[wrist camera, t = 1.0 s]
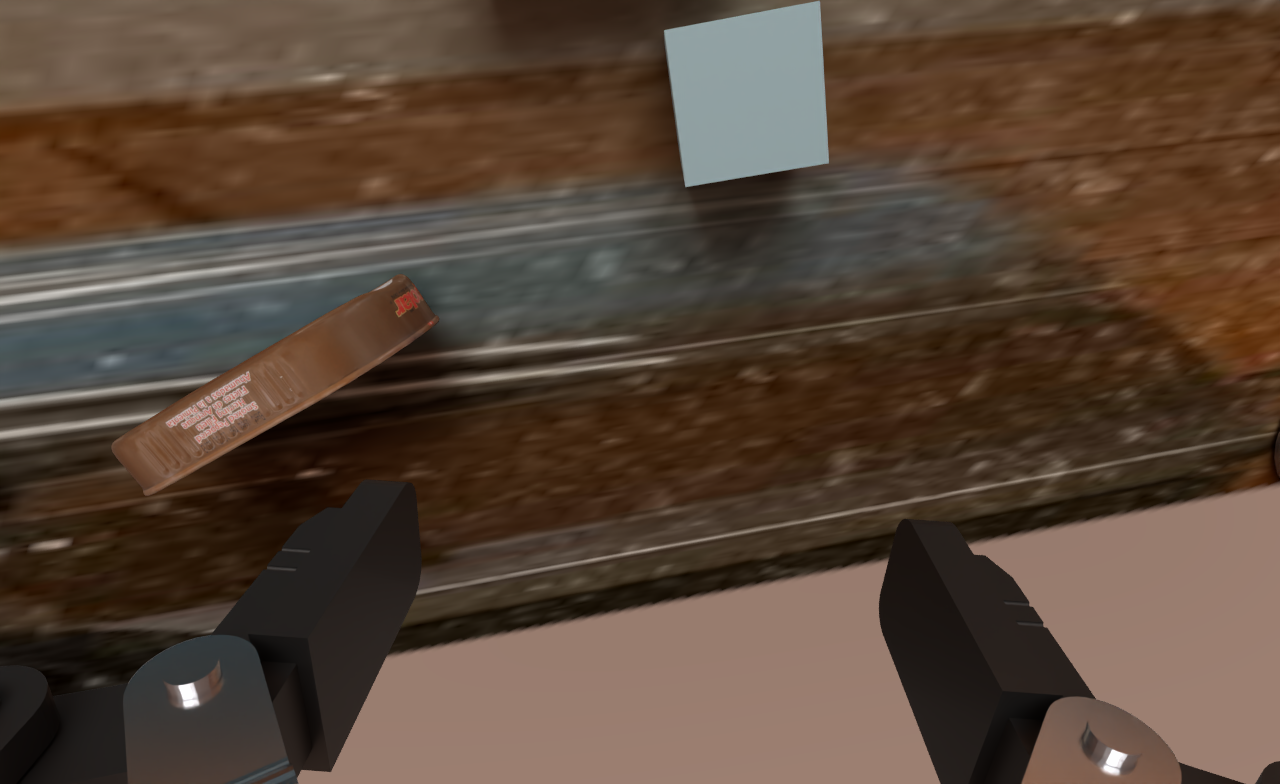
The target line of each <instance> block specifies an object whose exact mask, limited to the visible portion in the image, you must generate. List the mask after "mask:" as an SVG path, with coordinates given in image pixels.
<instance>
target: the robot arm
mask: <svg viewBox="0 0 1280 784" xmlns="http://www.w3.org/2000/svg"><path fill="white" fill-rule="evenodd" d="M1274 460H1275V465H1276V470H1277V474H1278V476H1279V478H1280V431H1279V434H1278V437H1277V440H1276V446H1275V456H1274ZM420 574H421V549H420V537H419V524H418V512H417V500H416V492H415V488H414V486H413V484H412V483H407V482H393V481H379V480H364V481H362V482H361V484H360V485H359V486H358V487H357V489H356V490H355V491H354V493H353V494H352V495H351V497H350V498H349V499H348V501H347V502H346V503H345V505H344V506H343V507H342V508H326V509H325V510H323V511H322V512H320V513H318V514H317V515H315V516H314V517H312V518H311V519H309V520H307V521H306V522H304V523H303V524H301V525H300V526H299V527H298V528H297V530H296V531H295V532H294V533H293V534H292V536H291V537H290V538H289V539H288V541H287V542H286V543H285V544H284V546H283V547H282V551H281V552H280V551H279V552H278V553H277V554H276V555H275V557H274V558H273V559H272V560H271V562H270V563H269V564H268V567H267V570H263V571H262V573H261V574H260V575H259V576H258V578H257V579H256V580H255V581H254V582H253V584H252V585H251V586H250V587H249V589H248V590H247V591H246V592H245V594H244V595H243V596H242V597H241V598H240V600H239V601H238V602H237V603H236V605H235V606H234V607H233V608H232V610H231V611H230V612H229V613H228V614H227V616H226V617H225V618H224V619H223V621H222V622H221V623H220V624H219V626H218V627H217V628H216V629H215V630H214V632H213V633H212V634H211V635H210V636H204V637H198V638H195V639H191V640H188V641H185V642H182V643H180V644H177V645H175V646H173V647H171V648H169V649H167V650H165V651H163V652H161V653H160V654H158V655H156V656H155V657H153V658H152V659H151V660H149V661H148V662H147V663H146V664H144V665H143V666H142V667H141V668H140V669H139V670H138V671H137V672H136V673H135V675H134V676H133V677H132V678H131V680H130V682H129V683H127V684H122V685H117V686H111V687H105V688H99V689H93V690H88V691H82V692H76V693H70V694H64V695H58V696H52V694H51V691H50V689H49V686H48V683H47V681H46V678H45V677H44V675H43V674H42V673H41V672H39V671H37V670H36V669H33V668H30V667H25V666H2V667H0V784H298V781H297V777H298V775H299V773H300V771H301V770H312V771H327V772H331V770H332V768H333V766H334V764H335V762H336V760H337V758H338V756H339V754H340V752H341V750H342V748H343V746H344V743H345V741H346V739H347V737H348V735H349V733H350V731H351V729H352V727H353V725H354V723H355V721H356V719H357V716H358V714H359V712H360V710H361V708H362V706H363V704H364V702H365V700H366V698H367V696H368V694H369V691H370V689H371V687H372V685H373V683H374V681H375V679H376V677H377V675H378V673H379V671H380V669H381V667H382V664H383V662H384V660H385V658H386V656H387V654H388V652H389V650H390V648H391V646H392V644H393V642H394V640H395V637H396V635H397V633H398V631H399V629H400V627H401V625H402V623H403V621H404V619H405V617H406V615H407V613H408V610H409V608H410V606H411V604H412V602H413V600H414V598H415V595H416V592H417V589H418V585H419V581H420ZM879 618H880V625H881V629H882V633H883V636H884V638H885V641H886V643H887V646H888V649H889V651H890V654H891V656H892V659H893V661H894V664H895V667H896V669H897V672H898V674H899V677H900V679H901V682H902V685H903V687H904V690H905V692H906V695H907V698H908V700H909V703H910V706H911V708H912V710H913V713H914V716H915V719H916V721H917V724H918V726H919V729H920V731H921V734H922V737H923V739H924V742H925V745H926V747H927V750H928V752H929V755H930V757H931V760H932V763H933V765H934V767H935V770H936V773H937V775H938V778H939V781H940V783H941V784H1244V783H1241V782H1238V781H1235V780H1232V779H1229V778H1225V777H1222V776H1219V775H1216V774H1213V773H1210V772H1207V771H1203V770H1200V769H1197V768H1194V767H1191V766H1188V765H1185V764H1182V763H1180V762H1178V761H1177V759H1176V757H1175V755H1174V753H1173V752H1172V750H1171V749H1170V748H1169V746H1168V745H1167V744H1166V743H1165V742H1164V741H1163V739H1162V738H1161V737H1160V736H1159V735H1158V734H1157V733H1156V732H1155V731H1153V730H1152V729H1151V728H1150V727H1148V726H1147V725H1146V724H1145V723H1143V722H1142V721H1141V720H1139V719H1138V718H1136V717H1134V716H1133V715H1131V714H1130V713H1128V712H1126V711H1124V710H1122V709H1120V708H1118V707H1116V706H1114V705H1111V704H1109V703H1106V702H1103V701H1100V700H1096V698H1095V697H1094V696H1093V694H1092V693H1091V691H1090V690H1089V688H1088V687H1087V686H1086V684H1085V682H1084V681H1083V680H1082V678H1081V677H1080V675H1079V674H1078V672H1077V671H1076V669H1075V668H1074V666H1073V665H1072V663H1071V662H1070V661H1069V659H1068V658H1067V656H1066V655H1065V653H1064V652H1063V650H1062V649H1061V647H1060V646H1059V644H1058V643H1057V642H1056V640H1055V639H1054V637H1053V636H1052V634H1051V633H1050V631H1049V630H1048V628H1044V627H1043V621H1042V620H1041V618H1040V617H1039V615H1038V614H1037V612H1036V611H1035V610H1034V608H1033V607H1030V606H1029V601H1028V599H1027V598H1026V597H1025V595H1024V594H1023V592H1022V591H1021V589H1020V588H1019V586H1018V585H1017V584H1016V582H1015V581H1014V579H1013V578H1012V577H1011V576H1010V575H1009V574H1007V573H1006V572H1005V571H1004V570H1003V569H1001V568H1000V567H999V566H998V565H996V564H995V563H994V562H993V561H991V560H990V559H989V558H988V557H986V556H983V555H974V554H973V553H972V551H971V550H970V548H969V547H968V545H967V543H966V542H965V540H964V539H963V537H962V536H961V534H960V532H959V531H958V529H957V528H956V526H955V525H954V524H953V523H951V522H940V521H926V520H912V519H904V520H902V521H901V522H900V523H899V525H898V527H897V530H896V534H895V538H894V542H893V546H892V549H891V553H890V557H889V561H888V565H887V569H886V573H885V577H884V582H883V586H882V589H881V594H880V601H879ZM1255 784H1280V761H1279V762H1274V763H1272V764H1269V765H1268V766H1267V767H1266V768H1265V769H1264V770H1263V772H1262V773H1261V775H1260V777H1259V778H1258V780H1257V782H1256V783H1255Z"/></svg>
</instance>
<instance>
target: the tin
mask: <svg viewBox="0 0 1280 784" xmlns="http://www.w3.org/2000/svg"><path fill="white" fill-rule="evenodd" d="M438 321H439V317H438V316H437V315H434V313H433V312H432V311H431V309H430V308H429V306H428V305H427V303H426V302H425V300H424V299H423V297H422V296H421V294H420V293H419V291H418V290H417V288H416V287H415V285H414V284H413V283H412V281H411V280H410V279H409V278H408V277H406V276H405V275H402V274H399V275H396V276H395V277H393V278H392V279H390V280H388V281H387V282H385V283H384V284H382V285H380V286H379V287H377V288H376V289H374V290H372V291H371V292H368V293H366V294H363V295H360V296H358V297H356V298H354V299H352V300H351V301H349V302H347V303H345V304H343V305H341V306H339V307H338V308H336V309H334V310H332V311H330V312H329V313H327V314H325V315H323V316H321V317H320V318H318V319H316V320H315V321H313V322H311V323H310V324H308V325H306V326H304V327H303V328H301V329H299V330H298V331H296V332H294V333H292V334H291V335H289V336H287V337H286V338H284V339H282V340H280V341H279V342H277V343H275V344H273V345H272V346H270V347H268V348H266V349H265V350H263V351H261V352H260V353H258V354H256V355H254V356H253V357H251V358H249V359H248V360H246V361H244V362H243V363H241V364H239V365H237V366H236V367H234V368H232V369H231V370H229V371H227V372H225V373H224V374H222V375H220V376H219V377H217V378H215V379H213V380H212V381H210V382H208V383H207V384H205V385H203V386H202V387H200V388H198V389H197V390H195V391H193V392H192V393H190V394H189V395H187V396H185V397H184V398H182V399H180V400H179V401H177V402H176V403H174V404H172V405H171V406H169V407H167V408H166V409H164V410H163V411H161V412H160V413H158V414H156V415H155V416H153V417H152V418H150V419H148V420H147V421H145V422H144V423H142V424H140V425H139V426H137V427H135V428H134V429H132V430H131V431H129V432H127V433H126V434H124V435H123V436H121V437H120V438H118V439H117V440H115V441H114V442H113V444H112V451H113V453H114V455H115V456H116V457H117V459H118V460H119V461H120V462H121V463H122V465H123V466H124V467H125V468H126V469H127V470H128V472H129V473H130V474H131V475H132V476H133V477H134V478H135V480H136V481H137V482H138V483H139V484H140V486H141V487H142V488H143V492H144V494H145V495H146V496H149V495H151V494H154V493H156V492H158V491H159V490H162V489H163V488H166V487H167V486H169V485H171V484H173V483H175V482H176V481H178V480H180V479H182V478H183V477H185V476H187V475H189V474H191V473H192V472H194V471H196V470H198V469H199V468H201V467H203V466H204V465H206V464H208V463H210V462H212V461H214V460H216V459H217V458H219V457H221V456H222V455H224V454H226V453H228V452H230V451H231V450H233V449H235V448H236V447H238V446H240V445H242V444H244V443H245V442H247V441H249V440H251V439H252V438H254V437H256V436H258V435H259V434H261V433H263V432H265V431H266V430H268V429H270V428H272V427H274V426H276V425H277V424H279V423H281V422H282V421H284V420H286V419H288V418H290V417H292V416H293V415H295V414H297V413H299V412H300V411H302V410H304V409H306V408H308V407H309V406H311V405H313V404H315V403H316V402H318V401H320V400H322V399H323V398H325V397H327V396H328V395H330V394H332V393H333V392H335V391H337V390H338V389H340V388H341V387H343V386H345V385H346V384H348V383H350V382H352V381H353V380H355V379H356V378H358V377H359V376H361V375H362V374H364V373H366V372H367V371H369V370H370V369H372V368H374V367H375V366H377V365H379V364H381V363H382V362H383V361H385V360H386V359H388V358H389V357H391V356H393V355H394V354H395V353H397V352H398V351H400V350H401V349H403V348H404V347H406V346H407V345H409V344H410V343H412V342H413V341H414V340H416V339H417V338H418V337H420V336H421V335H423V334H424V333H425V332H427V331H428V330H429V329H431V328H432V327H433V326H434V325H436V324H437V322H438Z"/></svg>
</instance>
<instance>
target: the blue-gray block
mask: <svg viewBox="0 0 1280 784" xmlns="http://www.w3.org/2000/svg"><path fill="white" fill-rule="evenodd" d="M664 44H665V51H666V58H667V66H668V73H669V80H670V88H671V95H672V102H673V109H674V117H675V124H676V131H677V138H678V146H679V153H680V160H681V167H682V172H683V177H684V182H685V187H689V186H695V185H701V184H707V183H713V182H719V181H725V180H731V179H737V178H743V177H749V176H755V175H761V174H767V173H773V172H779V171H785V170H791V169H796V168H802V167H808V166H814V165H820V164H826V163H829V157H828V139H827V121H826V103H825V85H824V67H823V49H822V31H821V13H820V1H816V2H811V3H806V4H800V5H795V6H790V7H784V8H779V9H774V10H769V11H763V12H758V13H753V14H747V15H742V16H737V17H731V18H726V19H721V20H716V21H710V22H705V23H700V24H694V25H689V26H684V27H678V28H673V29H668V30H664Z"/></svg>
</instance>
